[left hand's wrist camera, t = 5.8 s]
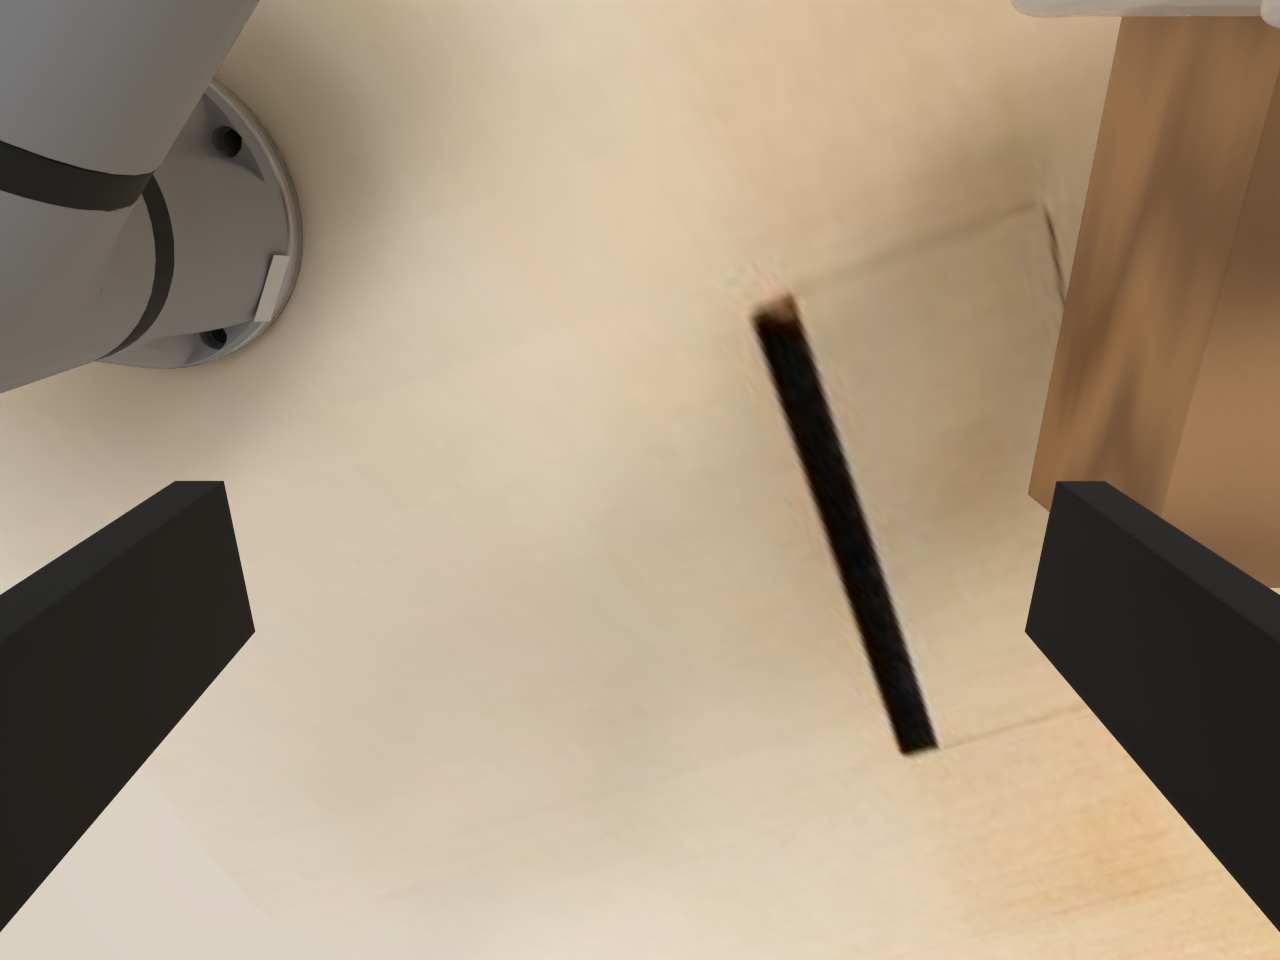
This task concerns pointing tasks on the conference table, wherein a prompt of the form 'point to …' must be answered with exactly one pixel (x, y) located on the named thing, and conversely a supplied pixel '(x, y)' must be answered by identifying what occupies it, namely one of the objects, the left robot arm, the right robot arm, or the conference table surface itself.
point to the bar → (1179, 291)
